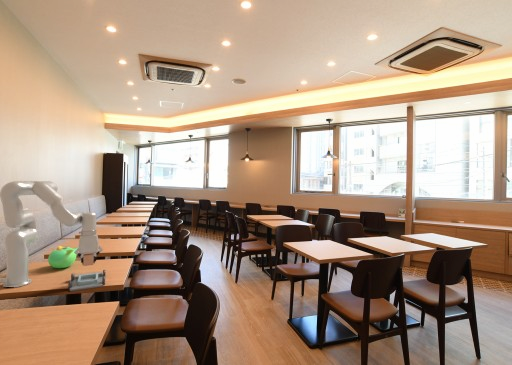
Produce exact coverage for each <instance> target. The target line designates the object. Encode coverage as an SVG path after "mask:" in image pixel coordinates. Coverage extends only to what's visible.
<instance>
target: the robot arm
mask: <svg viewBox="0 0 512 365" xmlns="http://www.w3.org/2000/svg"><path fill="white" fill-rule="evenodd" d="M31 195H32V196H37V198H39V200H41V201H42V202H43V203H45V204H46V205H47V206H48V207H49V209H50V212H51V214H52V216H53V217H54V218H55V219H56V220H57V221H58V222H59V223H61V224H62V225H64V226H65V227H74V226H76V225H81V231H78V235H80V236H79V240H78V249H77V250H76V251H75V252H74V253H75V254H76V255H77V256H78V257H80V263H81V265H82V266H83V256H84V253H92V252H93V253H94V264H95V263H96V262H97V257H98V255H99V254H100V253H101V252H103V250H104V249H103V248H102V246H100V245H99V244H100V243H99V235H98V234H97V214H96V213H95V211H93V212H91V211H89V212H88V211H87V212H84V211H74V212H70V211H69V210H68V209H67V208H66V207H65V206H64V205H63V203H64V200H65V198H64V197H63V195H61V194H60V193H59V192H58V186H57V184H56V183H55V182H53V181H50V180H48V181H45V180H44V181H39V180H38V181H36V180H34V181H33V180H15V181H10V182H7V183H6V184H4V185H3V186H2V187H1V189H0V200H1V205H2V210H3V216H4V222H5V225H6V227H7V228H10V229H15V228H19V229H15V230H12V231H10V232H9V233H7V234H6V236H5V238H4V243H5V248H6V277H4V278H0V284H2V283H3V284H2V287H3V288H4V287H14V288H19V287H23V286H26V285H29V284H30V283H31V282H32V279H31V277H29V249H28V246H27V244H30V243H33V242H34V241H36V240H37V239H38V237H39V229H38V223H37V217H36V215H35V213H34V212H33V211H32V210H28V209H24V208H23V202H22V200H21V199H20V197H21V196H31Z"/></svg>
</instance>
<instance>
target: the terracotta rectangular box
mask: <svg viewBox="0 0 512 365" xmlns="http://www.w3.org/2000/svg"><path fill="white" fill-rule="evenodd" d="M94 264H95V263H94V253H93V252H92V253H84V255H83V265H82V266H83V267H87V266H93V265H94Z"/></svg>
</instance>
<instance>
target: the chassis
mask: <svg viewBox="0 0 512 365" xmlns="http://www.w3.org/2000/svg"><path fill="white" fill-rule="evenodd" d="M105 284H106V269H102V271H96V272H87V273H79V274H76V273H71V276H70V280H68V282H67V285H68V286H67V288H68V290H69V291H70V292H73V291H82V290H88V289H94V288H101V287H103V286H104V285H105Z"/></svg>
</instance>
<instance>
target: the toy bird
mask: <svg viewBox="0 0 512 365" xmlns="http://www.w3.org/2000/svg"><path fill="white" fill-rule="evenodd" d="M57 247H58V248H55V249H53V250H52V251H51V252H50V253H49V255H48V259H47V262H48V264H49V266H50V267H52V268H55V269H65V268H67V267H70V266H71V265H73V264H74V262H75V261H76V260H77V256H78V255H76V254H75V253H74V252H75V251H76V250H77V249H78V247H79V246H78V247H75V248H72V247H69V246H61V245H59V246H57Z"/></svg>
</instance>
